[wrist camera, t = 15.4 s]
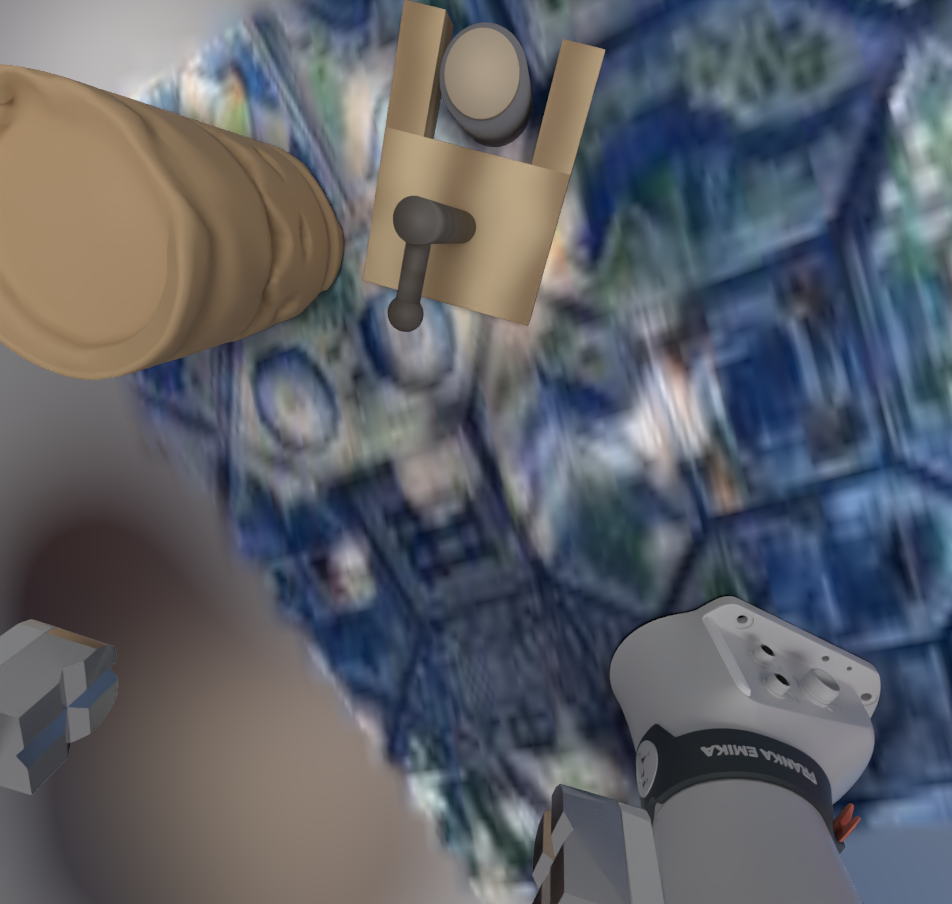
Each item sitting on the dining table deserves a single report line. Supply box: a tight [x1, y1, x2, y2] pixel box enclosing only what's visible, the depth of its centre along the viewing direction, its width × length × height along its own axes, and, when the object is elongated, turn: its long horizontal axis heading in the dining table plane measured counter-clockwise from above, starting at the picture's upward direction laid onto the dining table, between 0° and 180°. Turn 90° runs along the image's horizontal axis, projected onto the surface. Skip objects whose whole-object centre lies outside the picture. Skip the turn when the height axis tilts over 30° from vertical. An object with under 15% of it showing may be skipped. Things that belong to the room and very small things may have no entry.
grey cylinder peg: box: [440, 23, 533, 147], centre depth 31 cm, size 5×5×7 cm
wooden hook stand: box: [363, 0, 605, 332], centre depth 29 cm, size 12×16×14 cm
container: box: [0, 64, 344, 380], centre depth 31 cm, size 13×13×18 cm
